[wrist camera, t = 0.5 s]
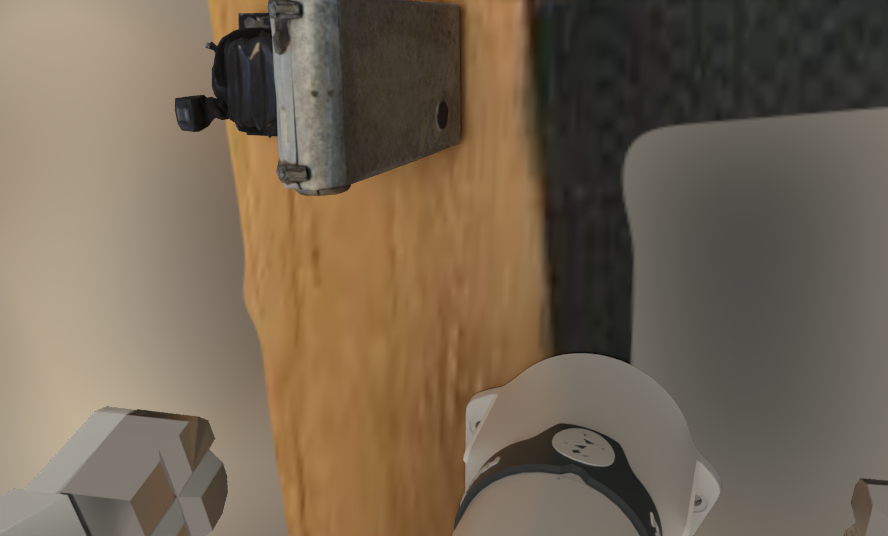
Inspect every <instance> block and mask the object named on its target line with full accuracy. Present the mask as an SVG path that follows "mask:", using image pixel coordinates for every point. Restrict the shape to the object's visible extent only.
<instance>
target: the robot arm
mask: <svg viewBox="0 0 888 536" xmlns="http://www.w3.org/2000/svg"><path fill="white" fill-rule="evenodd" d="M478 421H481V422H480V423H478ZM214 440H215V437H214V434H213V432H212V429H211V426H210V424H209V421H208V420H206V419H203V418H201V417H196V416H189V415H180V414H172V413H164V412H155V411H147V410H139V409H137V410H132V409H125V408H117V407H109V406H107V407H104V408H102V409H99V410H97V411H95V412H94V413H93V414H92V415H91V416H90V418H89V419H88V420H87V421H86V422H85V423H84V424H83V425H82V426H81V427H80V428H79V430H78V431H77V432H76V433H75V434H74V435H73V436H72V437H71V439H70V440H69V441H68V442H67V443H66V444H65V445H64V446H63V447H62V448H61V449H60V451H59V452H58V453H57V454H56V455H55V456H54V457H53V458H52V459H51V460H50V462H49V463H48V464H47V465H46V466H45V467H44V468H43V469H42V470H41V471H40V473H39V474H38V475H37V476H36V477H35V478H34V479H33V480H32V482H31V483H30V484H29V485H28V486H27V487H26V488H25V489H12V490H11V491H9V492H7V493H5V494H3V495H1V496H0V536H205V535H207V534H208V533H210V532H211V531H213V529H214V527H215V526H216V524H217V522H218V520H219V519H220V517H221V515H222V513H223V509H224V505H225V501H226V497H227V493H228V486H227V474H226V471H225V468H224V465H223V462H222V461H221V460H219V458H218V457H216V456H215V455H214V454H213V453H212V452H211V451H210V450H209V449H210V447H211V445H212V443H213V442H214ZM463 461H464V462H465V493H464V495H463V498H462V501H461V503H460V508H459V510H458V513H457V516H456V519H455V526H454V532H453V534H452V536H694V534H695V533H696V531H697V530H698V528H699V527H700V525H701V524H702V522H703V521H704V519H705V518H706V516H707V515H708V513H709V512H710V510H711V508H712V507H713V506H714V504H715V503H716V501H717V499H718V498H719V496H720V492H721V488H722V481H721V478H720V476H719V474H718V473H717V471H716V470H715V469H714V468H713V467H712V465H711V464H710V463H709V462H708V461H707V460H706V459H705V457H704V456H703V455H702V454H701V453H700V452H699V451H698V450H697V448H696V446H695V444H694V442H693V439H692V437H691V434H690V431H689V428H688V425H687V423H686V420H685V418H684V416H683V414H682V412H681V410H680V409H679V407H678V405H677V404H676V402H675V401H674V400H673V399H672V397H671V396H670V395H669V394H668V392H667V391H666V390H665V389H664V388H663V387H662V386H661V385H660V384H659V383H657V382H656V381H655V380H654V379H653V378H651V377H650V376H649V375H647V374H646V373H644V372H643V371H641V370H639V369H637V368H636V367H634V366H632V365H630V364H628V363H625V362H623V361H620V360H617V359H615V358H611V357H607V356H603V355H597V354H587V353H574V354H565V355H559V356H555V357H551V358H548V359H545V360H543V361H540V362H538V363H536V364H534V365H533V366H531V367H529V368H528V369H526V370H525V371H524V372H522V373H521V374H520V375H519V376H517V377H516V378H515V379H514V380H512V381H511V382H509V383H508V384H506V385H504V386H502V387H497V388H493V389H489V390H485V391H482V392H479V393H477V394H475V395H474V396H472V397H471V399H470V400H469V403H468V405H467V408H466V451H465V454H464V458H463ZM696 495H697V496H699V497H700V498H701V499H700V500H698V501H695V496H696ZM851 505H852V509H853V513H854V518H855V522H856V523H855V524H854V525H852V526H851V527H849V528H848V529H846V530H845V532H844V536H888V481H887V480H876V479H864V478H860V479H859V480H858V482H857V484H856V485H855V488H854V492H853V496H852V501H851Z"/></svg>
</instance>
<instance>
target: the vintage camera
mask: <svg viewBox="0 0 888 536" xmlns="http://www.w3.org/2000/svg"><path fill="white" fill-rule="evenodd" d="M268 10H269V13H239V29H238V30H235V31H233V32H231V33H230V34H228V35H226V36H225V37H223V38H222V39H221V40H220V42H219V44H218V46H216V45H215V44H214V43H213V42H211V43H206V48H208V49H211V50H214V52H215V59H214V65H213V68H212V88H213V91H214V94H215V96H216V97H217V99H216V98H213V97H209V98H207V97H205V96H204V95H198V96H189V97H182V98H176V99H175V112H176V117H177V122H178V125H179V127H180V128H181V129H182V130H184V131H192V132H199V131H201V130H203V129H204V128H206V127H208V126H209V125H210V123H211V122H212V121H213V119H214V118H218V119H221V120H225V119H230V120H232V121H233V122H235V124H236V127H237V128H238V130H239V131H242V132H246V133H247V135H262V136H269V138H270V137H271V136H278V148H279V162H278V167H277V175H278V177H279V179H280V181H281V182H282V183H283V185H284V186H285V188H289V189H295V190H296V191H297V192H298V193H299V194H302V195H307V196H321V195H335V194H339V193H342V192H345V191H347V190H348V189H349V188H350V186H351V184H353V183H356V182H358V181H361V180H364V179H367V178H370V177H373V176H375V175H378V174H381V173H384V172H386V171H389V170H391V169H394V168H397V167H399V166H402V165H405V164H408V163H410V162H413V161H416V160H418V159H421V158H423V157H426V156H428V155H431V154H433V153H436V152H439V151H441V150H444V149H446V148H449V147H451V146H454V145H458V144H460V135H461V125H460V39H459V7H458V4H448V3H437V2H420V1H408V0H269V2H268Z"/></svg>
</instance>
